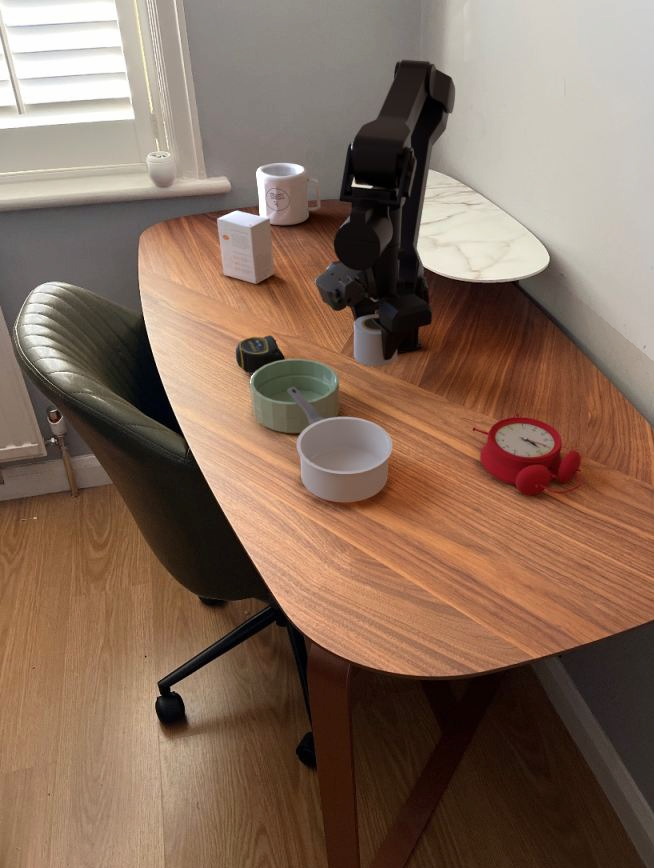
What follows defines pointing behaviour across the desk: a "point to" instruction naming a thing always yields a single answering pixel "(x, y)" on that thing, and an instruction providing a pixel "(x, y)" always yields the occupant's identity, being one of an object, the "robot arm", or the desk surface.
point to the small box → (246, 246)
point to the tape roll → (369, 342)
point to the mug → (284, 193)
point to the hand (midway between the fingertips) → (375, 349)
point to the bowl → (276, 402)
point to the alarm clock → (527, 455)
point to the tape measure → (257, 353)
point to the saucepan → (341, 455)
